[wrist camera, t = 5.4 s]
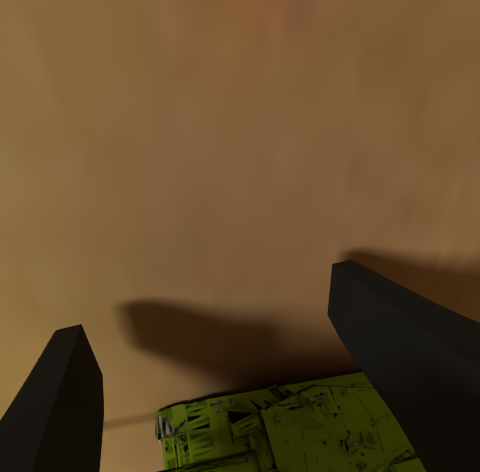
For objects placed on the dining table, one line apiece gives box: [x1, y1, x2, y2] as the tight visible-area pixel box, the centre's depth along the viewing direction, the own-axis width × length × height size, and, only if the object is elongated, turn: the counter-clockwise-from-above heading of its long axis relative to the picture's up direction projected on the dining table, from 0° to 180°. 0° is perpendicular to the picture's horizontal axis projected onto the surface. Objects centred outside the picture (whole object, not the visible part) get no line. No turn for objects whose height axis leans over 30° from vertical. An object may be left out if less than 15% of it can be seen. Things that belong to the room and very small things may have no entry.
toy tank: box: [155, 372, 426, 472], centre depth 12 cm, size 7×19×10 cm
